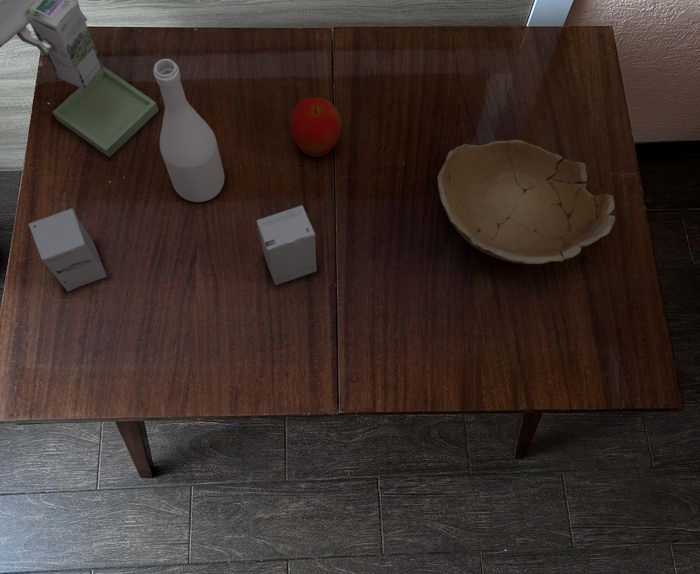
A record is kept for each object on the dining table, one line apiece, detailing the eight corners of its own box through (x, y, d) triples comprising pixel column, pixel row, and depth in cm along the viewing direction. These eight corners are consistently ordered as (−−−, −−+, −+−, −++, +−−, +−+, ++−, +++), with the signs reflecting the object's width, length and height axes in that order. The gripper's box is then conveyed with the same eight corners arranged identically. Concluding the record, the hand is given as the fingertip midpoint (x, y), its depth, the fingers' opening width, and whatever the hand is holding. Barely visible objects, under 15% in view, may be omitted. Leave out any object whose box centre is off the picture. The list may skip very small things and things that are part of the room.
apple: (344, 163, 131) (347, 123, 120) (298, 171, 130) (296, 132, 119) (333, 122, 134) (334, 79, 123) (287, 131, 133) (284, 88, 122)
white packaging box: (67, 293, 120) (39, 260, 109) (55, 257, 123) (26, 222, 111) (108, 278, 122) (85, 244, 110) (95, 243, 124) (71, 206, 112)
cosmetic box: (306, 245, 125) (304, 201, 111) (317, 273, 124) (317, 233, 110) (262, 259, 124) (254, 217, 110) (273, 288, 122) (267, 249, 108)
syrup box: (76, 54, 120) (44, -15, 106) (105, 67, 119) (77, 0, 105) (56, 77, 118) (22, 11, 104) (86, 91, 117) (55, 26, 104)
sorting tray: (109, 157, 130) (105, 150, 127) (56, 119, 132) (52, 111, 130) (158, 110, 134) (156, 102, 131) (106, 74, 136) (103, 65, 134)
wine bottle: (166, 197, 127) (121, 84, 99) (184, 154, 130) (145, 34, 102) (215, 210, 127) (184, 101, 99) (232, 167, 130) (207, 49, 102)
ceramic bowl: (562, 134, 133) (593, 93, 118) (601, 268, 129) (638, 244, 115) (411, 164, 131) (424, 127, 116) (447, 302, 127) (464, 282, 112)
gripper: (-55, -9, 98) (23, 76, 105) (50, -91, 103) (117, -5, 111) (-61, 1, 102) (14, 81, 110) (40, -78, 108) (104, 3, 116)
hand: (66, 37), depth 111 cm, fingers closed on syrup box, 6 cm apart
